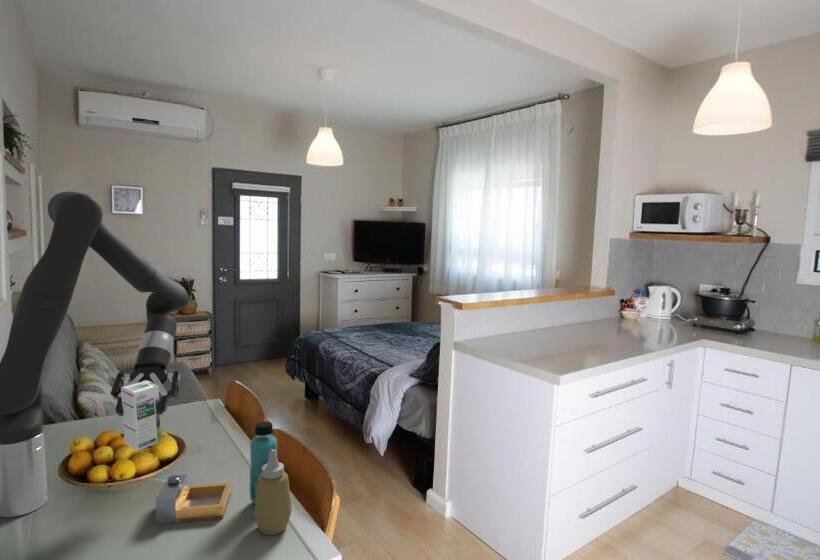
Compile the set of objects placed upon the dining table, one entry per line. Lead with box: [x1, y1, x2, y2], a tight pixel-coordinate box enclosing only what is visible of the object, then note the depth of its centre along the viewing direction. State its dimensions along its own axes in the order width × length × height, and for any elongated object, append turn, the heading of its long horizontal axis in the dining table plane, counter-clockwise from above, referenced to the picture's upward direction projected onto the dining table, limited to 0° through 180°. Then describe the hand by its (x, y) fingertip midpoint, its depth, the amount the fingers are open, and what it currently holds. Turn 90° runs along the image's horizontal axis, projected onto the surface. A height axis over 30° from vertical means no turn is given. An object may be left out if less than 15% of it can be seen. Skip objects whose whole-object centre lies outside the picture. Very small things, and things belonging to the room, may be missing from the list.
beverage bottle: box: [249, 420, 278, 504], centre depth 113 cm, size 6×7×20 cm
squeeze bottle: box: [253, 450, 293, 536], centre depth 104 cm, size 8×8×18 cm
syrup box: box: [121, 380, 162, 452], centre depth 110 cm, size 6×6×14 cm
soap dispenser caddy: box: [155, 473, 232, 525], centre depth 110 cm, size 14×10×7 cm
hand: (140, 414), depth 109 cm, fingers closed on syrup box, 8 cm apart
